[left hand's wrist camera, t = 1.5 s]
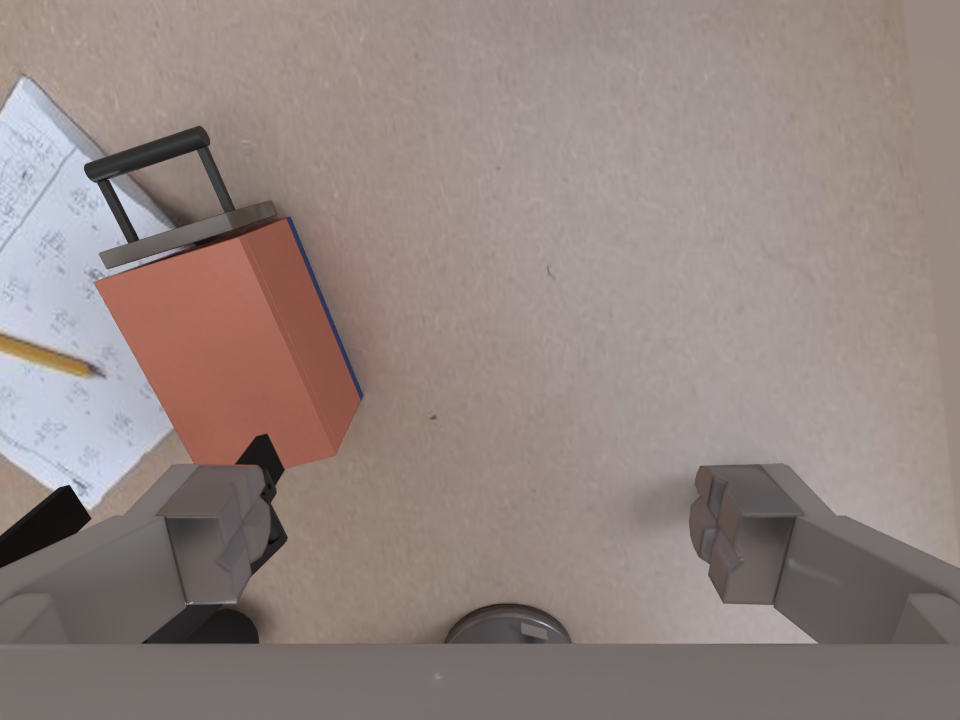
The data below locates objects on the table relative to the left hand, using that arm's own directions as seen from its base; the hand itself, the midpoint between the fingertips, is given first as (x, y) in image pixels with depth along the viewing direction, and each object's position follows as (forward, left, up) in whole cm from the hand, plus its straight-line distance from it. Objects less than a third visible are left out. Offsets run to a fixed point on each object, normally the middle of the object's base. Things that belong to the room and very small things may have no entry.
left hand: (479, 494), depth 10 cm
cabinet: (+8, -20, -40) cm, 45 cm away
